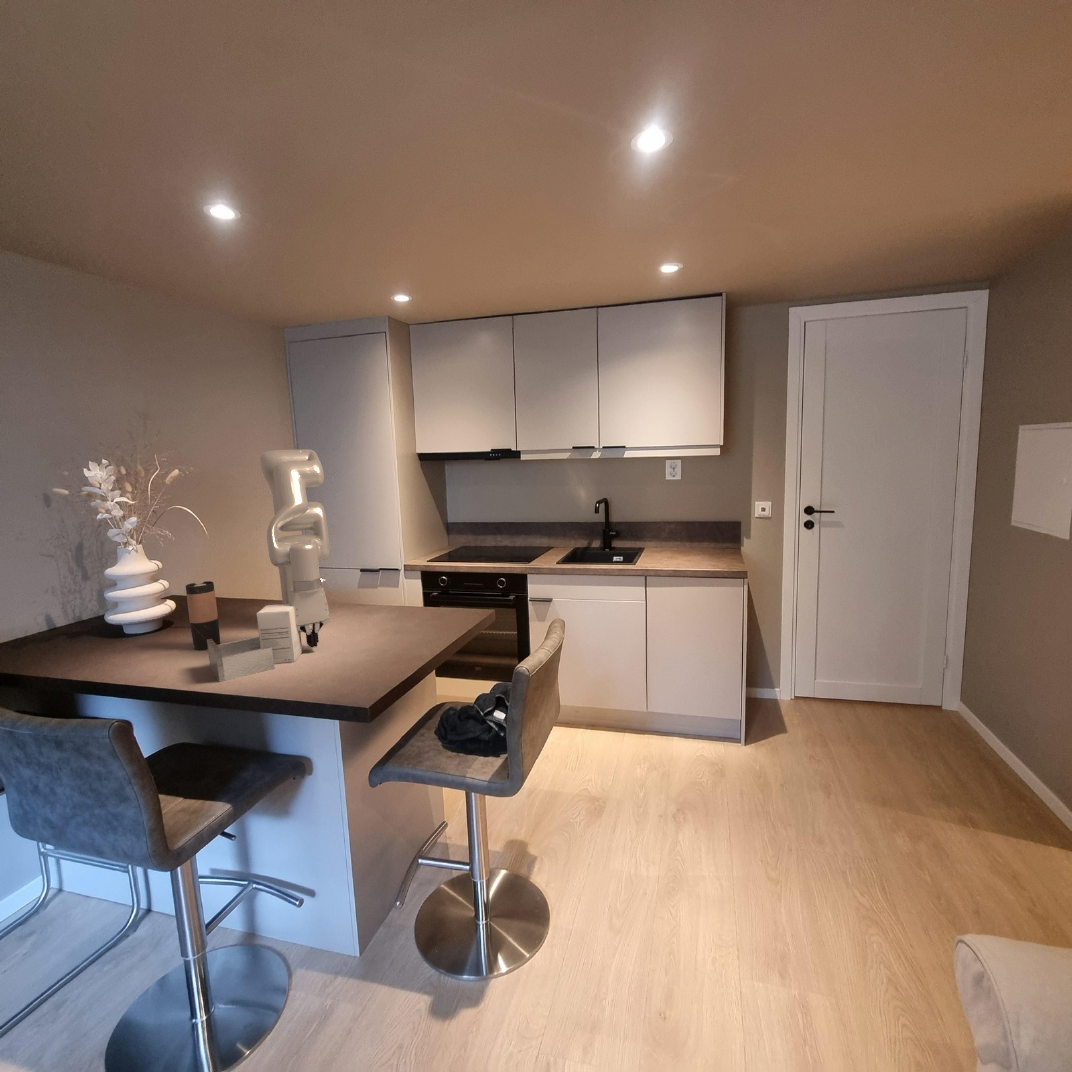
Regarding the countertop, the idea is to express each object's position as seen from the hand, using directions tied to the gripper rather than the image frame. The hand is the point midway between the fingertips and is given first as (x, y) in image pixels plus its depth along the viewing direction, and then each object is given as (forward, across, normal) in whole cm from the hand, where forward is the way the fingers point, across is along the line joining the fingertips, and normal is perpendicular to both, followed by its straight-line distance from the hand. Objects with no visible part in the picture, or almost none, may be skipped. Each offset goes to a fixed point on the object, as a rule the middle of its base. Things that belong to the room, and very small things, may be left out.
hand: (313, 645), depth 167 cm
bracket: (+2, +19, 0) cm, 19 cm away
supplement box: (+2, +8, 0) cm, 9 cm away
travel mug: (+2, +23, -30) cm, 38 cm away
